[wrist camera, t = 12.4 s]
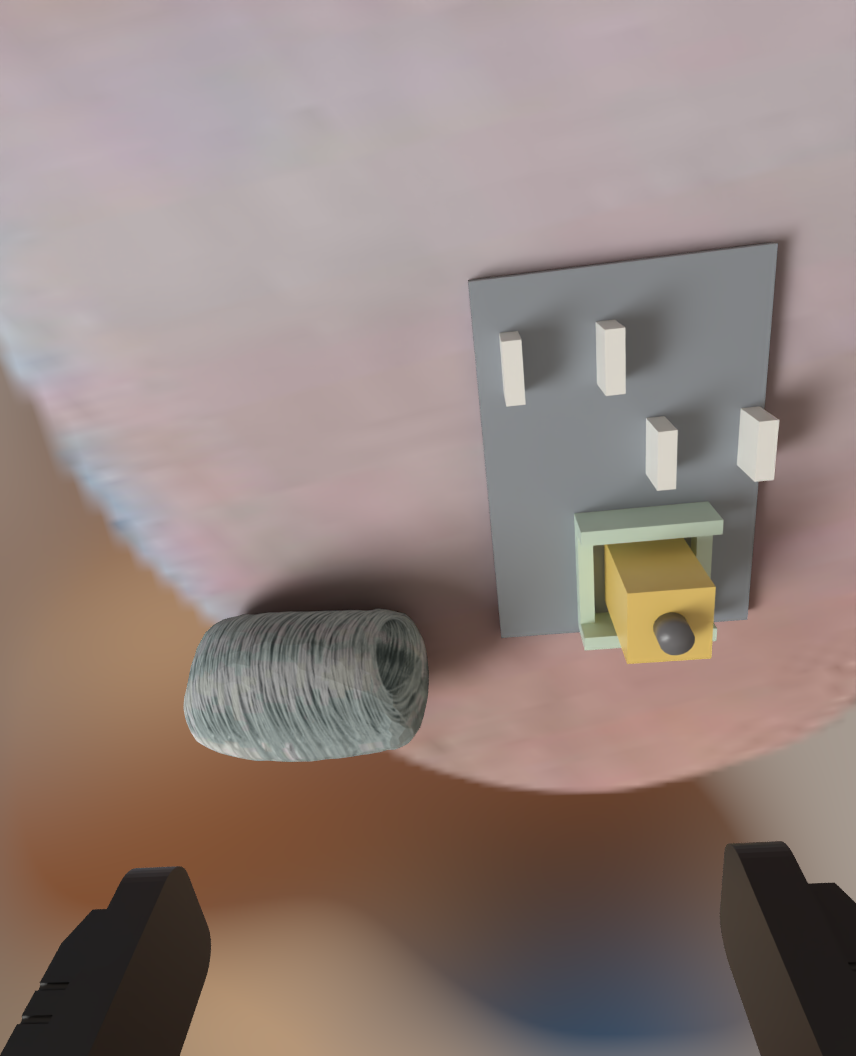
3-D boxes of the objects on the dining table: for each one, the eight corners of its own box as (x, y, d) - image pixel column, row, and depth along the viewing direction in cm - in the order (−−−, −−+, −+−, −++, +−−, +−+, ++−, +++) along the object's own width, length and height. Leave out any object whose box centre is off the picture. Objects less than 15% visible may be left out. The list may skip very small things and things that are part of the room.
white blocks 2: (646, 417, 35) (658, 432, 33) (759, 406, 34) (779, 419, 32) (645, 473, 36) (657, 491, 34) (755, 463, 35) (773, 479, 33)
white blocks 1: (498, 333, 33) (501, 341, 31) (614, 319, 33) (625, 327, 31) (503, 394, 35) (506, 406, 32) (615, 382, 34) (625, 393, 32)
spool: (441, 582, 36) (382, 765, 31) (454, 665, 44) (408, 825, 38) (214, 540, 40) (123, 698, 34) (261, 624, 47) (193, 765, 42)
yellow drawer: (604, 537, 38) (633, 607, 31) (679, 531, 37) (724, 600, 31) (604, 600, 39) (632, 679, 33) (676, 595, 39) (719, 673, 32)
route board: (468, 280, 33) (468, 282, 32) (770, 242, 32) (778, 243, 31) (500, 630, 41) (501, 637, 41) (742, 612, 40) (747, 619, 39)
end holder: (574, 513, 37) (580, 532, 35) (708, 501, 36) (723, 519, 34) (578, 626, 40) (584, 650, 38) (702, 617, 39) (716, 640, 37)
